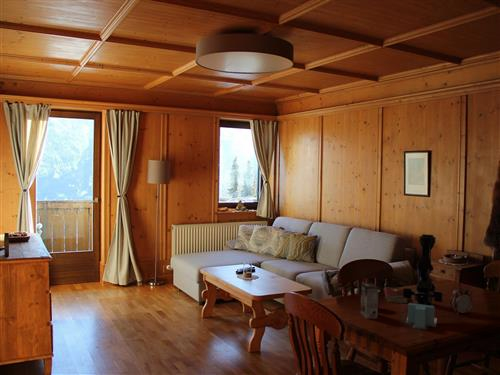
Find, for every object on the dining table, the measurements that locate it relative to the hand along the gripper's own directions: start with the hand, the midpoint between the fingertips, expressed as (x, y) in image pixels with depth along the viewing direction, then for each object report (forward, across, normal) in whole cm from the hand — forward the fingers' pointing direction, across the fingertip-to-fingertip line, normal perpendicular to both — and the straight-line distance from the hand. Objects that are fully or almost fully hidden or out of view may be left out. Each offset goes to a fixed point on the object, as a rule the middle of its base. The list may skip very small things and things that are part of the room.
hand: (421, 309), depth 231 cm
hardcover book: (-25, -17, +36) cm, 47 cm away
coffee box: (+5, -26, +5) cm, 26 cm away
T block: (+8, 0, +1) cm, 8 cm away
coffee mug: (-6, -27, +16) cm, 32 cm away
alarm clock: (-14, +18, +24) cm, 33 cm away
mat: (+4, 0, +5) cm, 7 cm away
